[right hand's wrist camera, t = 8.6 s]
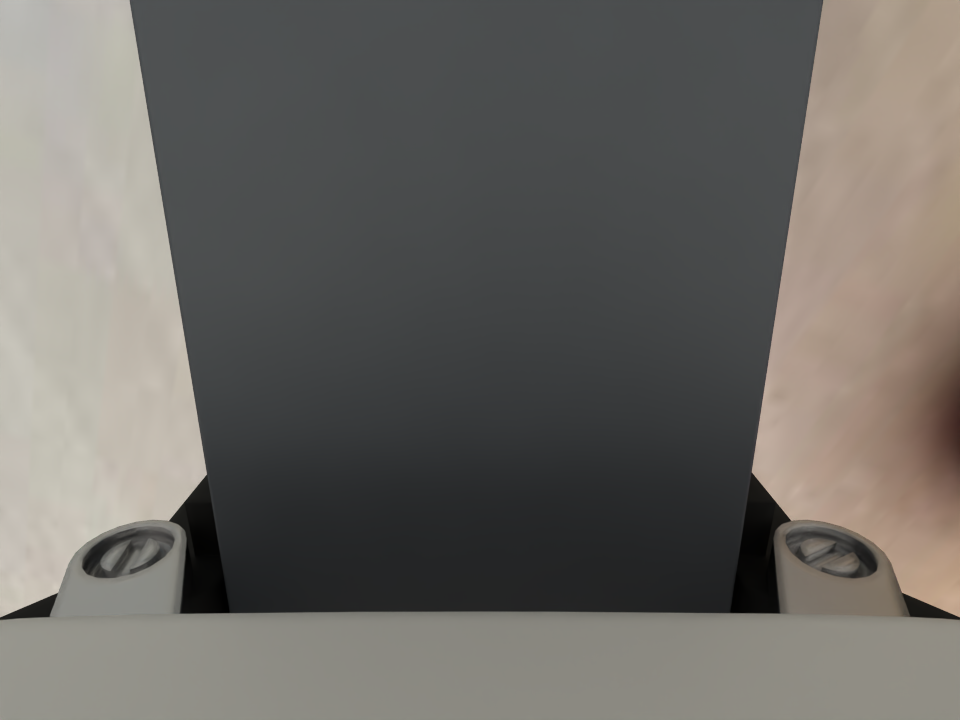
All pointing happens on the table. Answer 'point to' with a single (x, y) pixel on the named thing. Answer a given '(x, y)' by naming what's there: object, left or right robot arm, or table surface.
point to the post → (478, 289)
